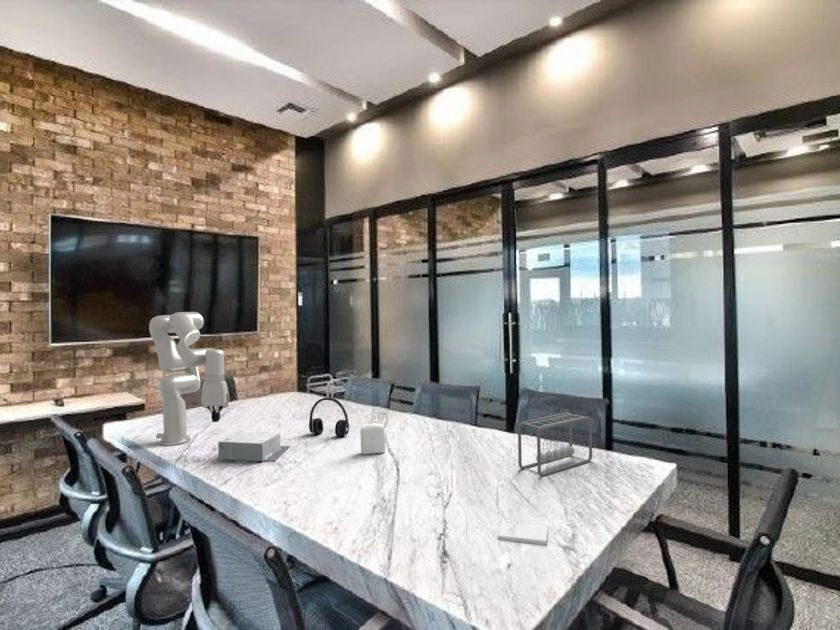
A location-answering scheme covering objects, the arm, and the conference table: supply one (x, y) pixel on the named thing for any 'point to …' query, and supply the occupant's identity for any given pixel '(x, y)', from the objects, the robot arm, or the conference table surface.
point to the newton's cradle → (555, 453)
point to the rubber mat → (272, 458)
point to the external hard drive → (523, 533)
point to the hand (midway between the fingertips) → (215, 421)
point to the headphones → (317, 423)
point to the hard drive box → (249, 446)
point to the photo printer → (372, 438)
